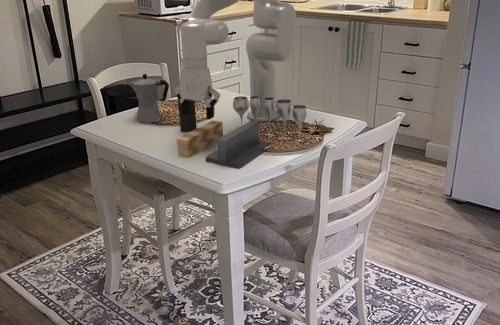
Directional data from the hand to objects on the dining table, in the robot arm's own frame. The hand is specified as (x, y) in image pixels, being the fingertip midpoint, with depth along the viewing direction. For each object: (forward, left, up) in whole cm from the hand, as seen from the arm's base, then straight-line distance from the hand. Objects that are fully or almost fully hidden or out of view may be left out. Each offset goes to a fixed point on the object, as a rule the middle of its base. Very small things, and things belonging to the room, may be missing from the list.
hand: (198, 116), depth 163 cm
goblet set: (-20, +15, -11) cm, 27 cm away
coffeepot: (-15, -34, -11) cm, 39 cm away
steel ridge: (-1, +15, -11) cm, 18 cm away
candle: (-12, -14, -11) cm, 21 cm away
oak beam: (-1, 0, -11) cm, 11 cm away
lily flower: (-32, +28, -11) cm, 44 cm away
